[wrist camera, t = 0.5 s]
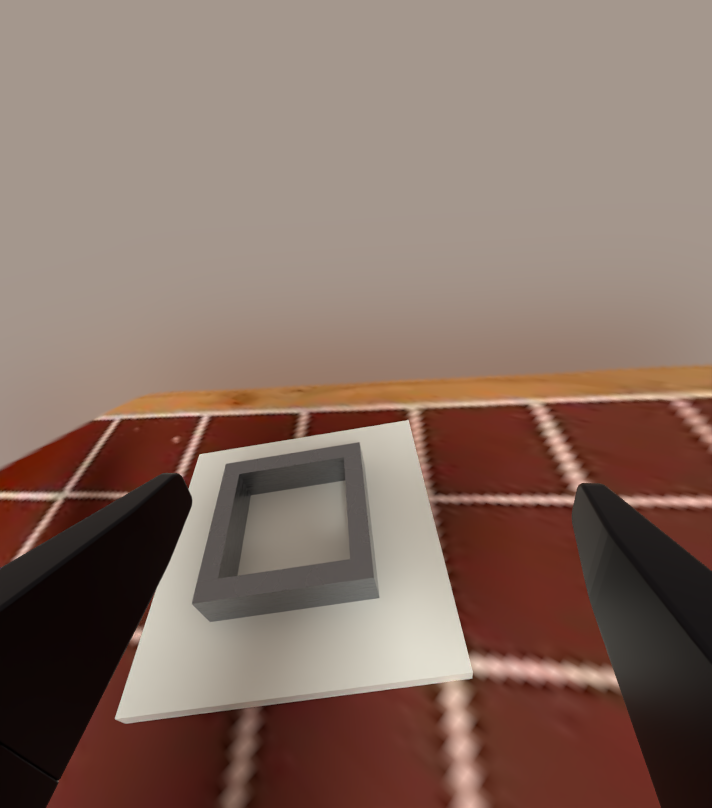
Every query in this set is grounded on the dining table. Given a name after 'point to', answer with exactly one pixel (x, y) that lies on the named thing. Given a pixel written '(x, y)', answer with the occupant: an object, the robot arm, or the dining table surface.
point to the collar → (297, 586)
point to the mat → (312, 627)
